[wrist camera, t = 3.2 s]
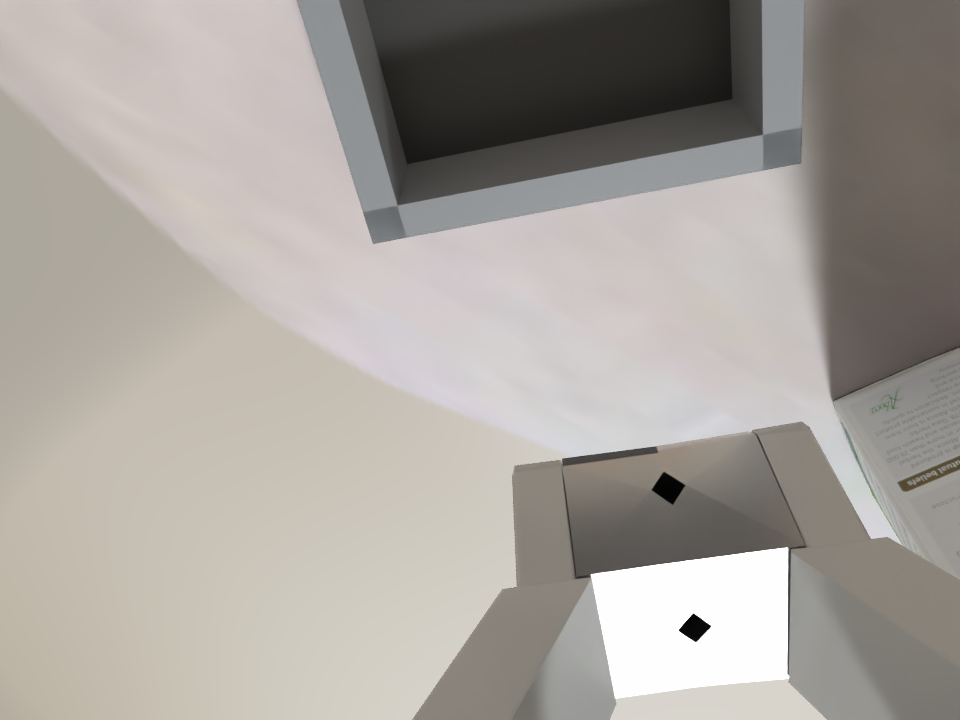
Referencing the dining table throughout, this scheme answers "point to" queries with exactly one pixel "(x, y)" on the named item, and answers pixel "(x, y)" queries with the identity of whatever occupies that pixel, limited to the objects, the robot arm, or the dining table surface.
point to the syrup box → (913, 454)
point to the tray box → (551, 100)
